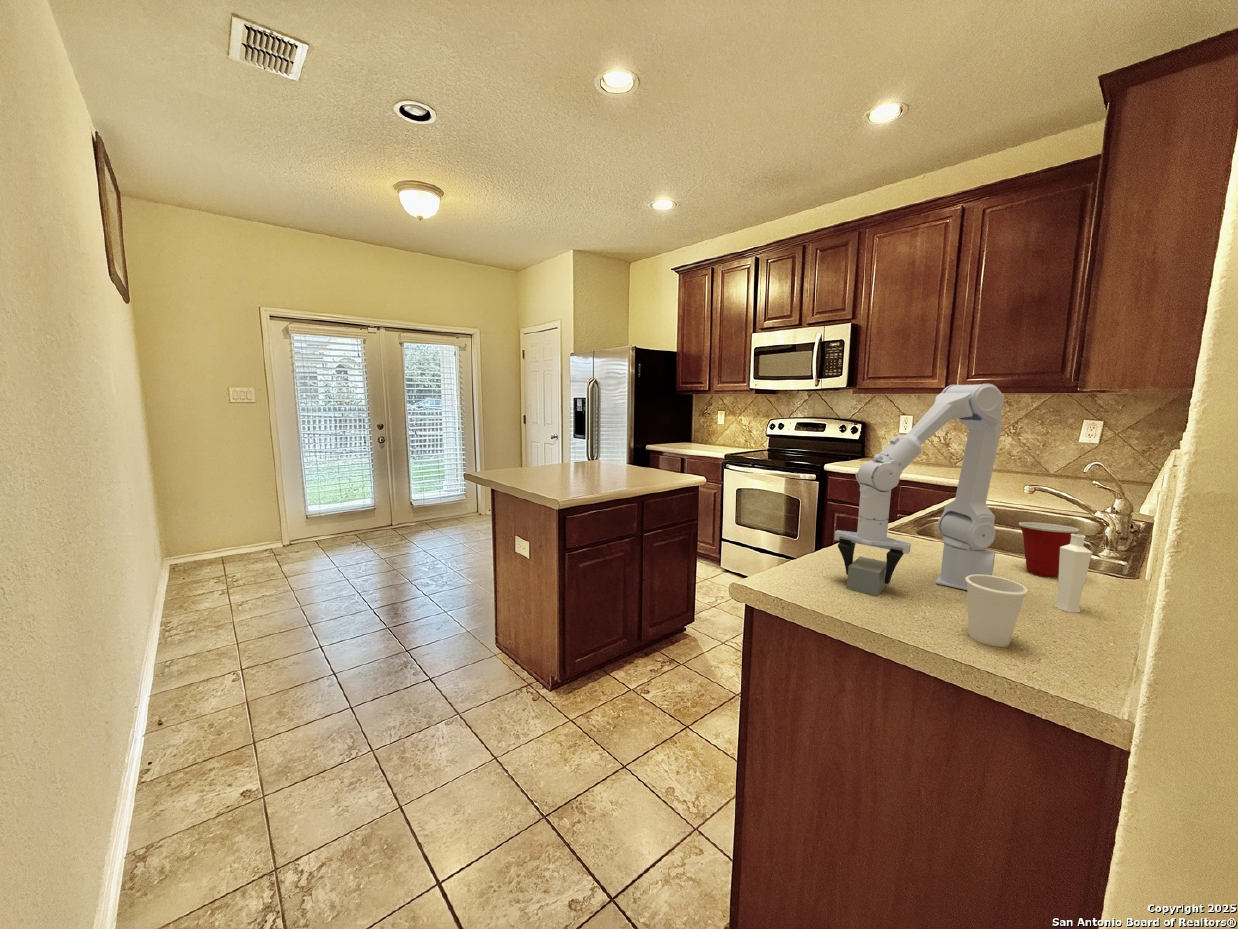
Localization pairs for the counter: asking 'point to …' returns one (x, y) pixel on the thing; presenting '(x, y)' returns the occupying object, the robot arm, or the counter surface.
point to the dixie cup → (993, 608)
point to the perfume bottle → (1072, 573)
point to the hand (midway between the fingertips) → (867, 578)
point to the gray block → (867, 576)
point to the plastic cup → (1044, 546)
